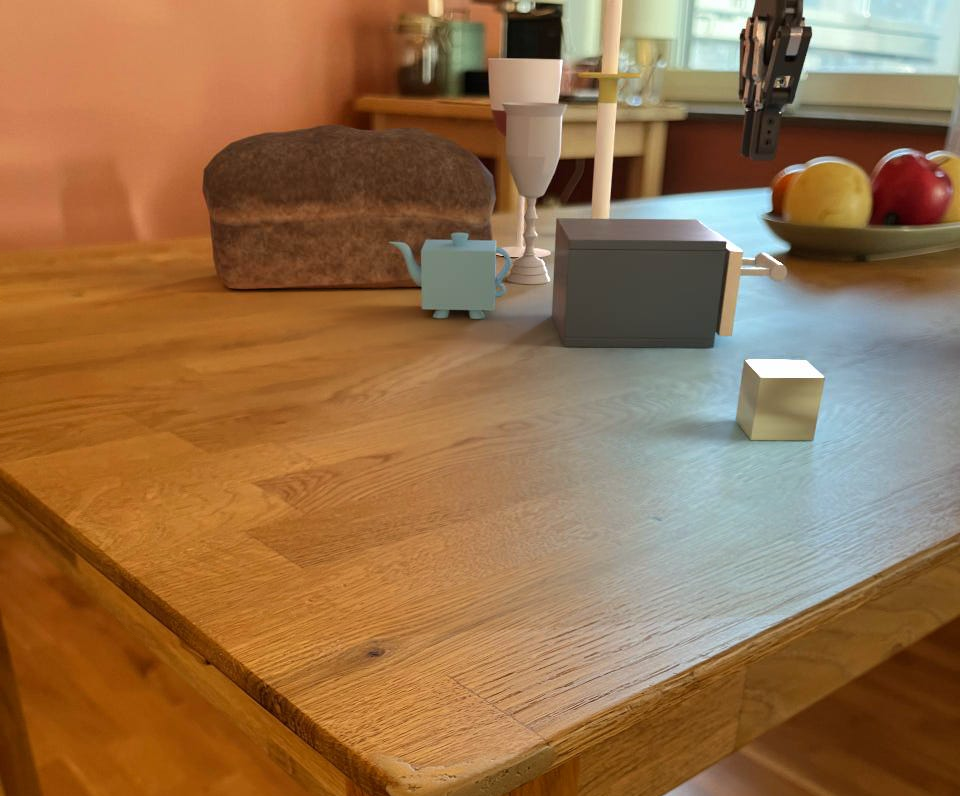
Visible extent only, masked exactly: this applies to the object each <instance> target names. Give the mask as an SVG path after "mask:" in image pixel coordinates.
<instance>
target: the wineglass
mask: <svg viewBox="0 0 960 796" xmlns="http://www.w3.org/2000/svg"><path fill="white" fill-rule="evenodd" d="M487 60H488V61H487V62H488V63H487V64H488V65H487V66H488V92H489V93H488V94H489V102H490V111H491V116H492V119H493V122H494V124H495V127H496V129H497V130H498V131H499V132H500V134H502V136H504V137H505V138H506V119H507V115H506V112H505V110H504V107H503V105H502V103H515V102H531V103H558V104H559V99H560V91H561V83H562V72H563V59H560V58H559V59H558V58H507V57H506V58H505V57H503V58H500V57H499V58H495V57H494V58H491V57H489V58H488V59H487ZM525 199H526V198H525V197H523V196H521V195H520V194H519V193H518V192H517V221H516V245H514V246H506V247H502V248H503V249H504V250H506V251H507V252H508V254H509V255H510V257H519V258H520V257H522V256H523V253H524V252H525V248H526V246H525V245H524V237H523V233H524V225H525V219H524V216H525ZM534 253H535V254H536V255H535V256H536V257H538V258H545V257H547V256H550V255H552V252H551V251H550V250H548V249H543V248H537V247H534ZM496 255H500V256H503V255H502V254H500V253H496Z"/></svg>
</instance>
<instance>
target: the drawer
mask: <svg viewBox="0 0 960 796" xmlns="http://www.w3.org/2000/svg"><path fill="white" fill-rule="evenodd" d="M712 231H713V232H714V233H716V234H717V235H719V236H720V237H721V238H723V239H724V240H726V241H727V246H726V254H725V262H724V270H723V278H722V286H721V293H720V301H719V309H718V317H717V325H716V333H715V334H717V335H718V337H733V332H734V324H735V317H736V309H737V308H736V307H737V302H738V295H739V288H740V279H741V277H768V278H770V280H772V281H774V282H777V283H778V282H782V281H783V280H784V279H785V278H786V277H787V275H788V269H787V267H786V266H785V265H784V264H782V263H781V262H779V260H776V259H775V258H774V257H772V256H770V255H769V254H768V253H765V252H760V253H758V254H756V255H755V257H744V251H743V250H742V249H741V248H740V247H738V246H737V245H735V244H734V243H732V242H731V241H730V240H728V239H726V238H725V237H724V236H723V235H721V234H720V233H718V232H717V231H715V230H712ZM742 266H744V267H742ZM745 266H747V267H745ZM748 266H750V267H748Z"/></svg>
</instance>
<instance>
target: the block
mask: <svg viewBox="0 0 960 796" xmlns="http://www.w3.org/2000/svg"><path fill="white" fill-rule="evenodd" d="M825 380H826V377H825V376H824V375H823V374H821V372H819V371H818V370H817V369H816V368H815V367H814V366H813V365H812V364H810V362H808V361H807V360H805V359H744V360H743V364H742V372H741V378H740V385H739V393H738V399H737V406H736V414H735V422H736V423H737V424H738V425H739V427H740V428H741V429H742V431H743V433H745V434H746V436H747V438H748V439H749V440H750V441H814V439H815V434H816V429H817V423H818V418H819V412H820V408H821V402H822V398H823V397H822V396H823V391H824V386H825Z"/></svg>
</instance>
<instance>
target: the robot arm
mask: <svg viewBox="0 0 960 796" xmlns="http://www.w3.org/2000/svg"><path fill="white" fill-rule="evenodd" d="M812 38H813V28H812V26H811V25H806V17H805V16H804V0H754V4H753V10H752V15H751V16H748V17H747V19H746V23H745V28H742V29H741V31H740V33H739V38H738V39H739V67H738V68H739V69H738V70H739V71H738V72H739V73H738V74H739V75H738V93H737V94H738V100H739V101H741V104H742V109H745V110H744V115H743V116H744V117H743V124H742V132H741V139H740V148H739V154H740V155H741V157H744V158H750V160H752V161H755V162H772V161H773V160H775V159H776V157H777V153H778V152H777V151H778V144H779V138H780V133H781V131H780V130H781V125H782V117H783V112H786V111H787V107H788V105H793V103H794V100H795V98H796V95H797V94H796V93H797V89H798V87H799V83H800V79H801V76H802V72H803V69H804V65H805V62H806V58H807V54H808V51H809V47H810V45H811V44H810V43H811V40H812ZM778 82H779V86H778Z"/></svg>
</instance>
